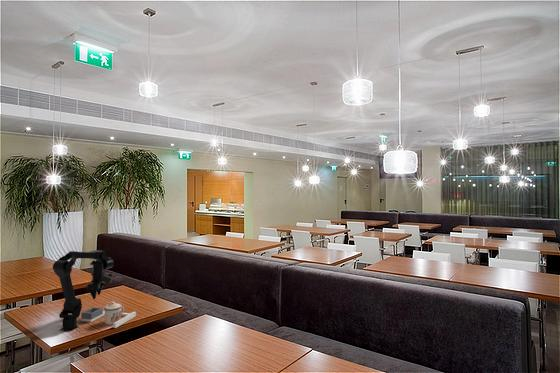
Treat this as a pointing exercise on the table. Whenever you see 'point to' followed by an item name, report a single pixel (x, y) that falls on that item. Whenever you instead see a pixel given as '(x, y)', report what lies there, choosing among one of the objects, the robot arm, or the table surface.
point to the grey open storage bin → (98, 312)
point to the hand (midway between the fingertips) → (96, 296)
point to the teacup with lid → (113, 313)
